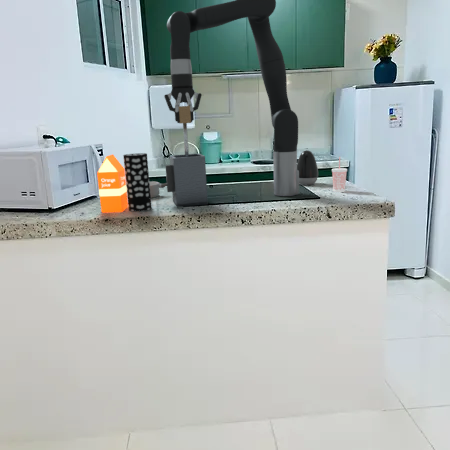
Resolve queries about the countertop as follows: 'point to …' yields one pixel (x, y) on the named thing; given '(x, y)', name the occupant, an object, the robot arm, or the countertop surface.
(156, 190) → the saucepan
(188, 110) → the plunger
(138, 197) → the spotted tube
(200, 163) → the tall grey box
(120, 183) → the orange juice
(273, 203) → the countertop surface
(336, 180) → the beverage cup
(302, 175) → the dark grey egg shape
